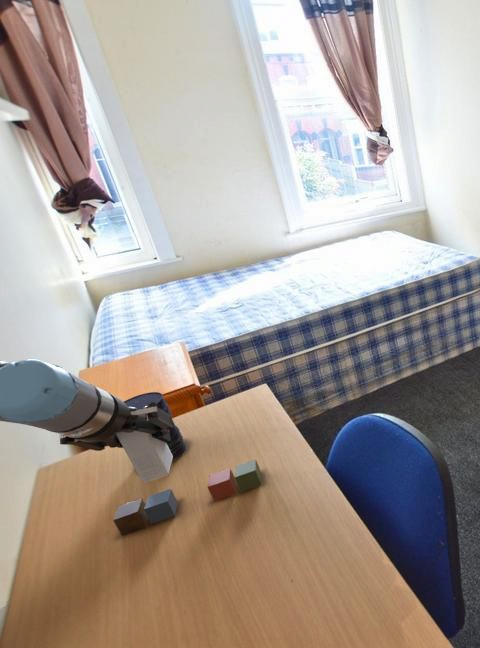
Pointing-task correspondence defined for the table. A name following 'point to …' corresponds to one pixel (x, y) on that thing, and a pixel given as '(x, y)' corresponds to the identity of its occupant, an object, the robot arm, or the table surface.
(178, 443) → the storage jar
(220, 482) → the block
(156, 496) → the block
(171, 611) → the table surface
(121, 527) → the block
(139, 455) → the cosmetic box
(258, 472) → the block
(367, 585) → the table surface
